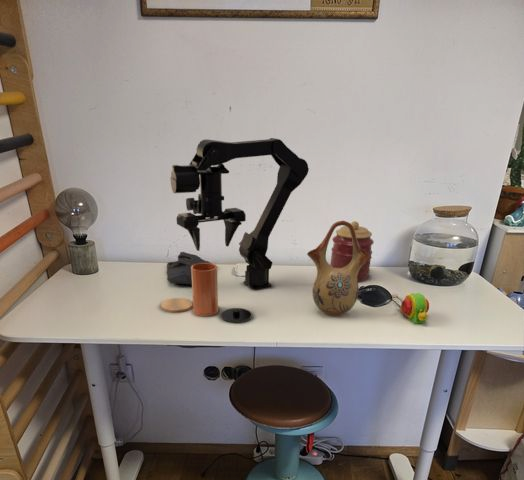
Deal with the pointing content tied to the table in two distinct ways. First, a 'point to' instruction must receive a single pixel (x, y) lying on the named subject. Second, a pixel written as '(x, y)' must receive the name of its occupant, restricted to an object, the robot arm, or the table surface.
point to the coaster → (176, 305)
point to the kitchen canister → (351, 248)
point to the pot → (205, 289)
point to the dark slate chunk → (182, 268)
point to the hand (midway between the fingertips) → (212, 248)
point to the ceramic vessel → (337, 276)
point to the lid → (236, 315)
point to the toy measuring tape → (413, 306)
